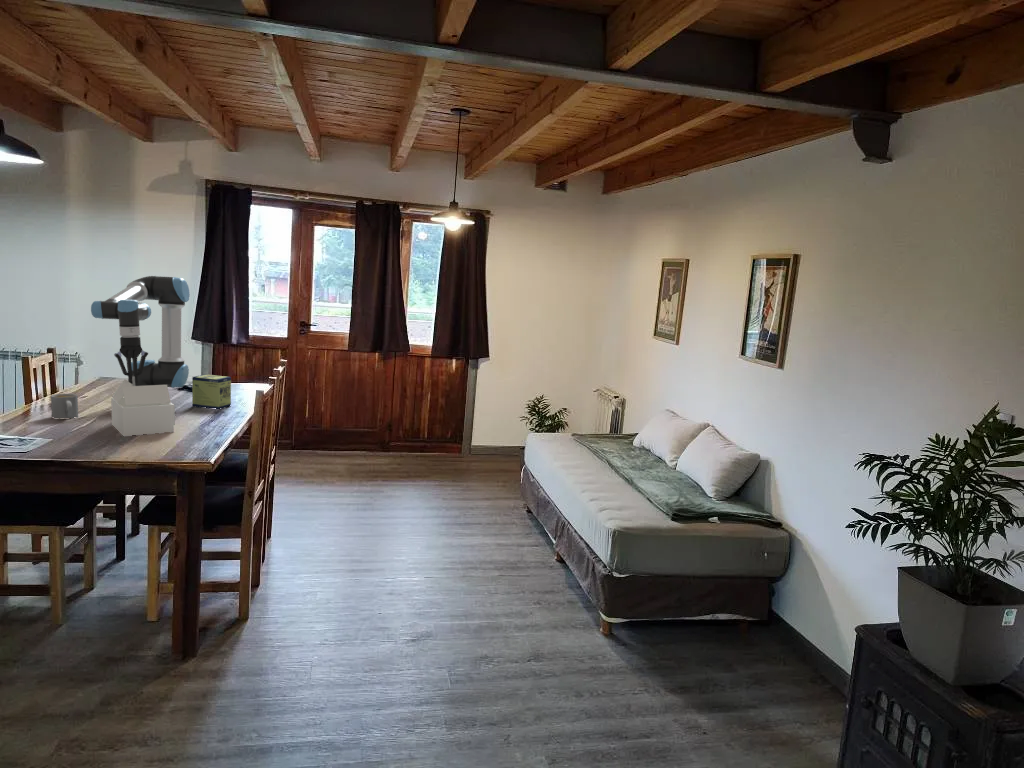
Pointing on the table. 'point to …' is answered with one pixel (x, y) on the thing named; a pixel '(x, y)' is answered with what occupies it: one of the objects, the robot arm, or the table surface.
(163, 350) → the robot arm
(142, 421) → the carton
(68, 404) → the coffee mug
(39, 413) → the table surface
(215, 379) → the protein box
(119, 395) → the side flap
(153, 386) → the front flap
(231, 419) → the table surface
